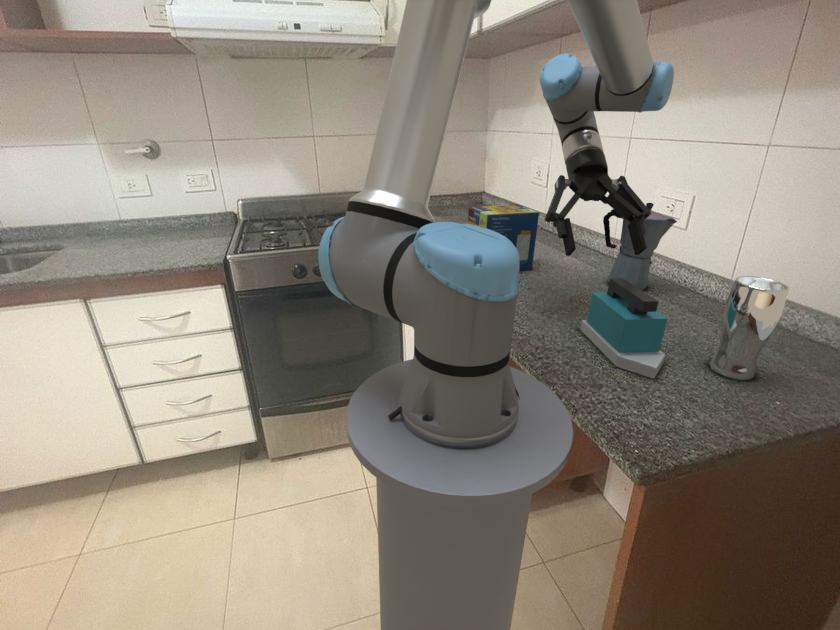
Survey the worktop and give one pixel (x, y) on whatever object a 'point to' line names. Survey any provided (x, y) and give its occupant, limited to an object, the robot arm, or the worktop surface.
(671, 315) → the worktop surface
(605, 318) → the teal slab with bar
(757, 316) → the beer glass
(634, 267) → the moka pot
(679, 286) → the worktop surface
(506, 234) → the protein box
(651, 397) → the worktop surface
